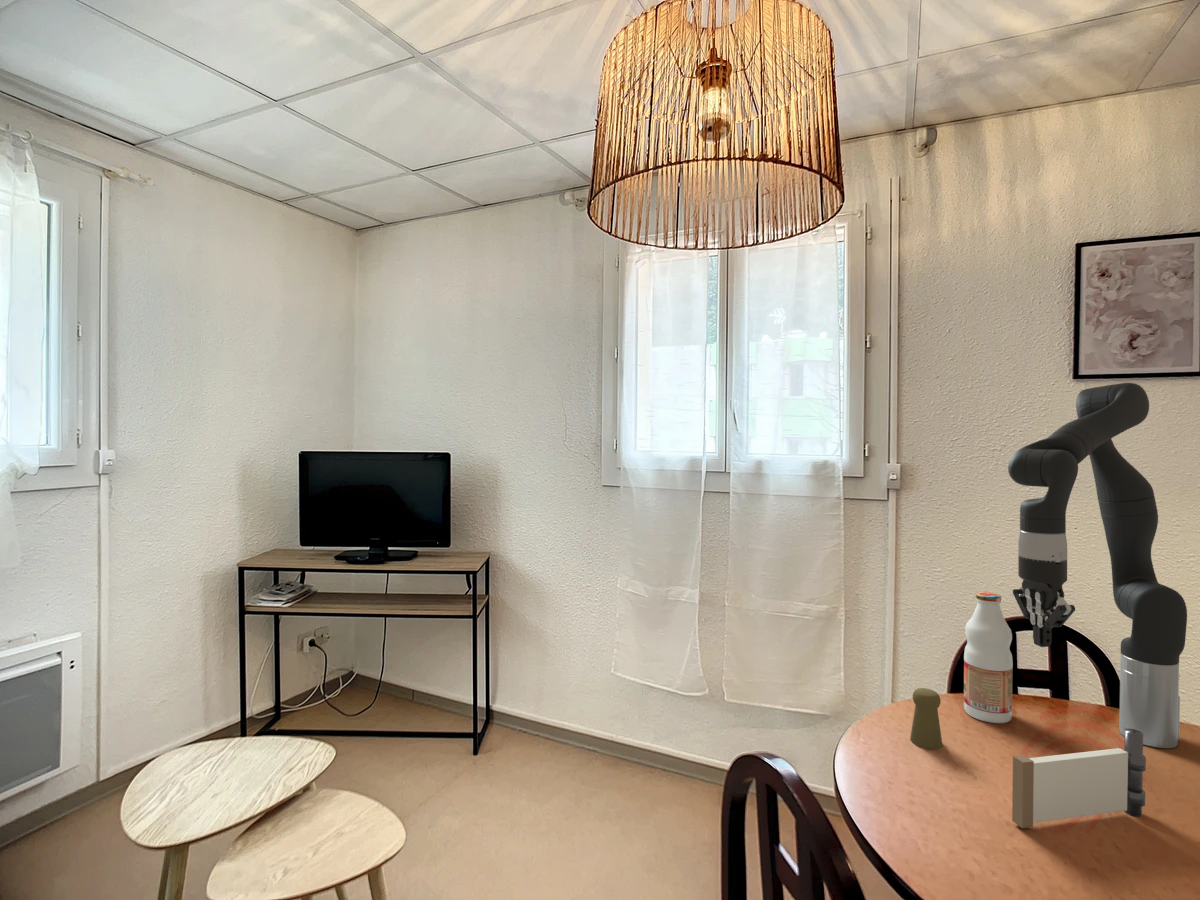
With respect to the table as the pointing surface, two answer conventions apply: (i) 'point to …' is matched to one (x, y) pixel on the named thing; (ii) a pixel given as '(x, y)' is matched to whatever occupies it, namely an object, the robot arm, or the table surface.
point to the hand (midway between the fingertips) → (1042, 645)
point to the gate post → (1135, 771)
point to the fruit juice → (988, 662)
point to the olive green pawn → (926, 719)
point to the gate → (1069, 785)
